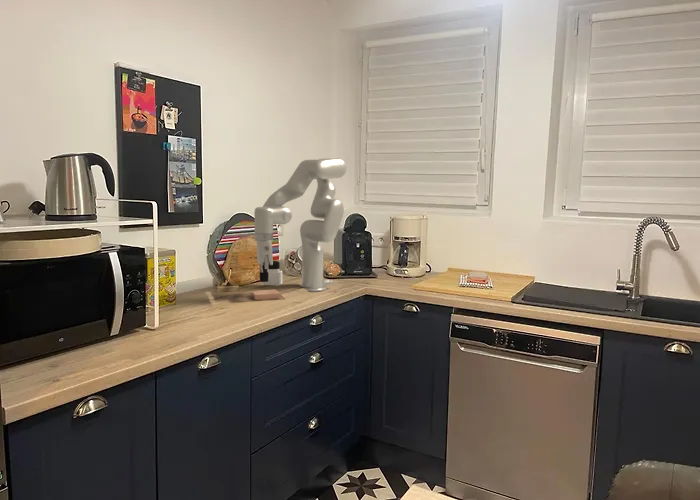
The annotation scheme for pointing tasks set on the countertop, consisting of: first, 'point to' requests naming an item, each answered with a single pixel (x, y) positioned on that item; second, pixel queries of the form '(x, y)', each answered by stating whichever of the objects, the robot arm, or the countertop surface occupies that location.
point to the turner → (228, 289)
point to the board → (246, 298)
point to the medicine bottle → (274, 274)
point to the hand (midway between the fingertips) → (264, 281)
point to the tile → (265, 294)
